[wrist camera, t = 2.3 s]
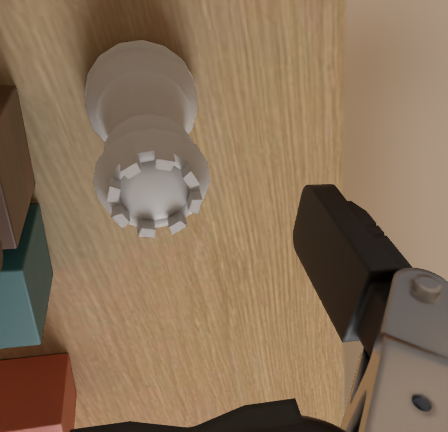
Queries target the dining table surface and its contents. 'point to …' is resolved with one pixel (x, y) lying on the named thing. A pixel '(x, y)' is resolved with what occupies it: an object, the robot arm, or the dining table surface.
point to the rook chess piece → (146, 137)
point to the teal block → (25, 285)
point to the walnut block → (13, 169)
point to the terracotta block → (37, 394)
